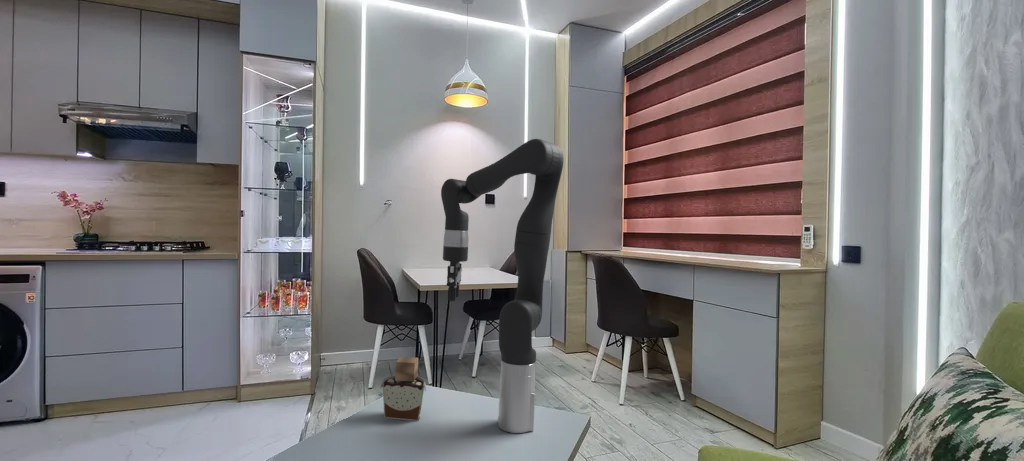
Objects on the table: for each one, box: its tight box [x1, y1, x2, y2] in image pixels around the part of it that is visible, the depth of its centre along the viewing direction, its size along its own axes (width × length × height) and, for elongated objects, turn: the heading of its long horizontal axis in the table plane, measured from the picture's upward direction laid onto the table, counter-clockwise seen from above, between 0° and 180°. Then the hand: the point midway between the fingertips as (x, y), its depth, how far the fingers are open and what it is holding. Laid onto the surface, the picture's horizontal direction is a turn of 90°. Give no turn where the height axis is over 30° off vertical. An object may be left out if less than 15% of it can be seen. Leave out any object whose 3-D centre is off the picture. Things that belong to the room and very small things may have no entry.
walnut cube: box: [394, 356, 419, 382], centre depth 122 cm, size 5×5×5 cm
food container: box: [380, 375, 427, 422], centre depth 122 cm, size 12×6×10 cm, turn 84°
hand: (453, 298), depth 137 cm, fingers open, 8 cm apart
